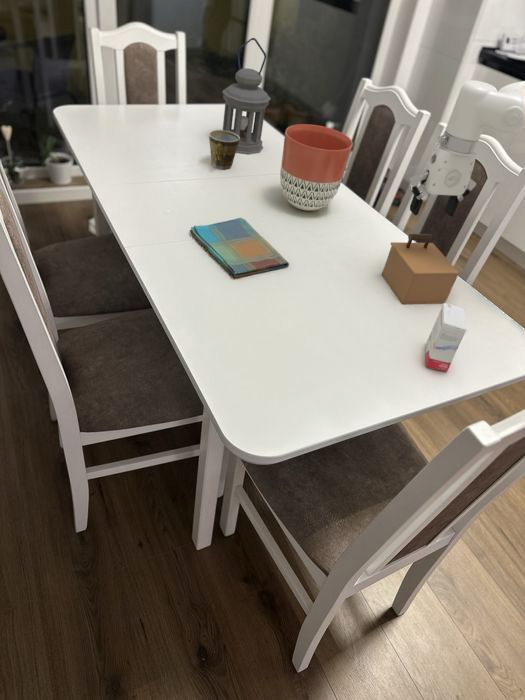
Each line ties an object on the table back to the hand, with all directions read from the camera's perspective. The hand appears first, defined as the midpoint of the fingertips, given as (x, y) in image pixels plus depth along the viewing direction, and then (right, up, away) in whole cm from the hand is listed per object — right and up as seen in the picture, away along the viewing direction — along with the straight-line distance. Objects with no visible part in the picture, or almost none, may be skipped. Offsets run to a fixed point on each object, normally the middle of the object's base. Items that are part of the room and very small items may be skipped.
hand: (430, 213), depth 131 cm
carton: (-2, -17, +9) cm, 20 cm away
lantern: (-49, +42, +67) cm, 93 cm away
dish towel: (-47, -7, +11) cm, 49 cm away
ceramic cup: (-55, +28, +50) cm, 79 cm away
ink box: (-3, -35, -11) cm, 37 cm away
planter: (-28, +11, +37) cm, 48 cm away
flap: (-1, -10, +4) cm, 11 cm away
